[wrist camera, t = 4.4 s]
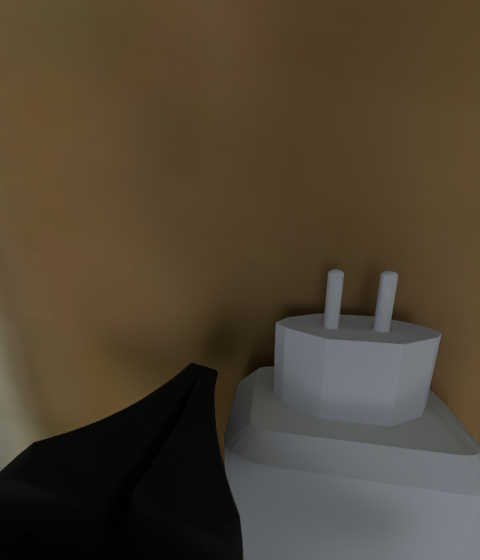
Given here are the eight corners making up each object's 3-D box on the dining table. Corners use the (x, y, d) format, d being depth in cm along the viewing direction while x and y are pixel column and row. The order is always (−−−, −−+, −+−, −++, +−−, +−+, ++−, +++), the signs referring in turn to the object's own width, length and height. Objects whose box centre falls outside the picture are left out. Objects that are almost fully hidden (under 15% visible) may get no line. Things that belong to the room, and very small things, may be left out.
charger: (464, 261, 10) (403, 526, 14) (239, 256, 12) (240, 498, 15) (613, 298, 6) (463, 676, 9) (213, 283, 7) (223, 618, 11)
